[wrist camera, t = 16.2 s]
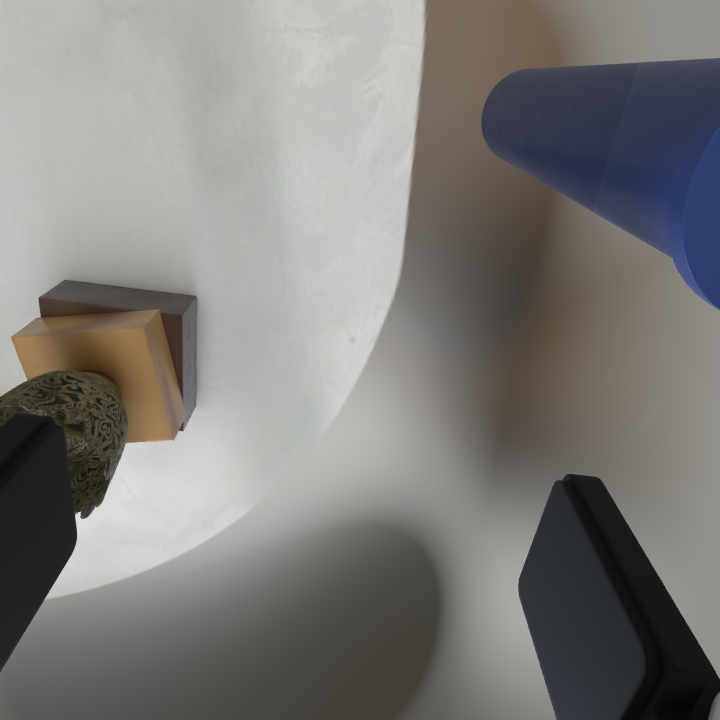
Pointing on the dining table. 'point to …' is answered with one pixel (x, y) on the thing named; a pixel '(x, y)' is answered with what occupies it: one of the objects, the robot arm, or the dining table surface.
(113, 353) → the block stack
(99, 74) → the dining table surface
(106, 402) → the dark bronze dome
